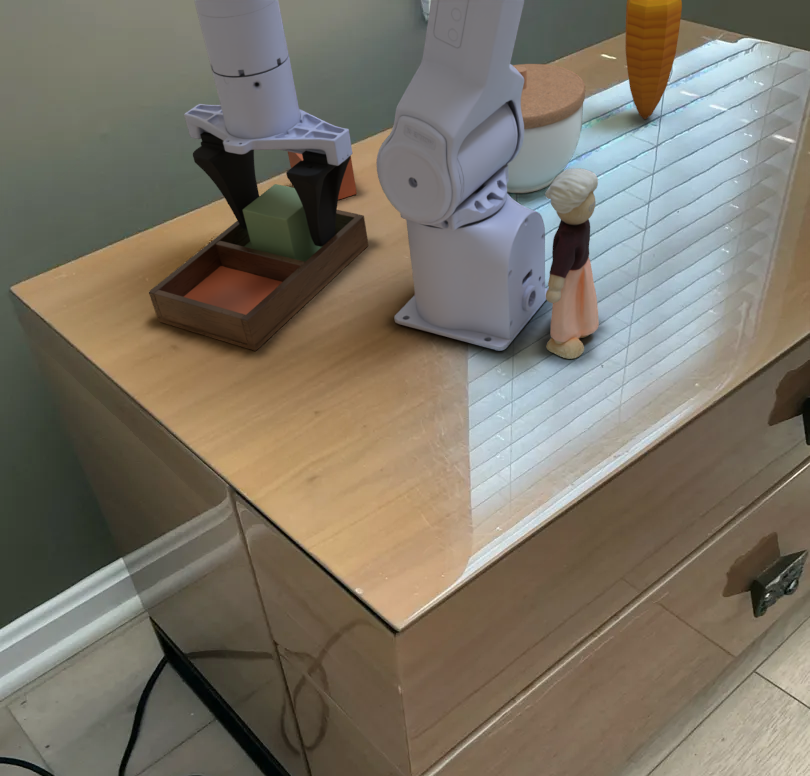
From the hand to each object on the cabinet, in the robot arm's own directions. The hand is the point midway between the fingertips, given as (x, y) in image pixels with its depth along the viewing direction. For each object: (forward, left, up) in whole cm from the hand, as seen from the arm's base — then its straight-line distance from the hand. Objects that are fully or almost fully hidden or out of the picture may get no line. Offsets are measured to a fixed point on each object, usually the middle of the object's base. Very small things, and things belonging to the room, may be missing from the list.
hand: (287, 231), depth 79 cm
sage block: (0, 0, -2) cm, 2 cm away
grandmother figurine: (-26, +1, -3) cm, 26 cm away
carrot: (-18, -33, -3) cm, 38 cm away
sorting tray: (0, +4, -3) cm, 5 cm away
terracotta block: (+4, -11, -3) cm, 12 cm away
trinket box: (-12, -19, -3) cm, 23 cm away
